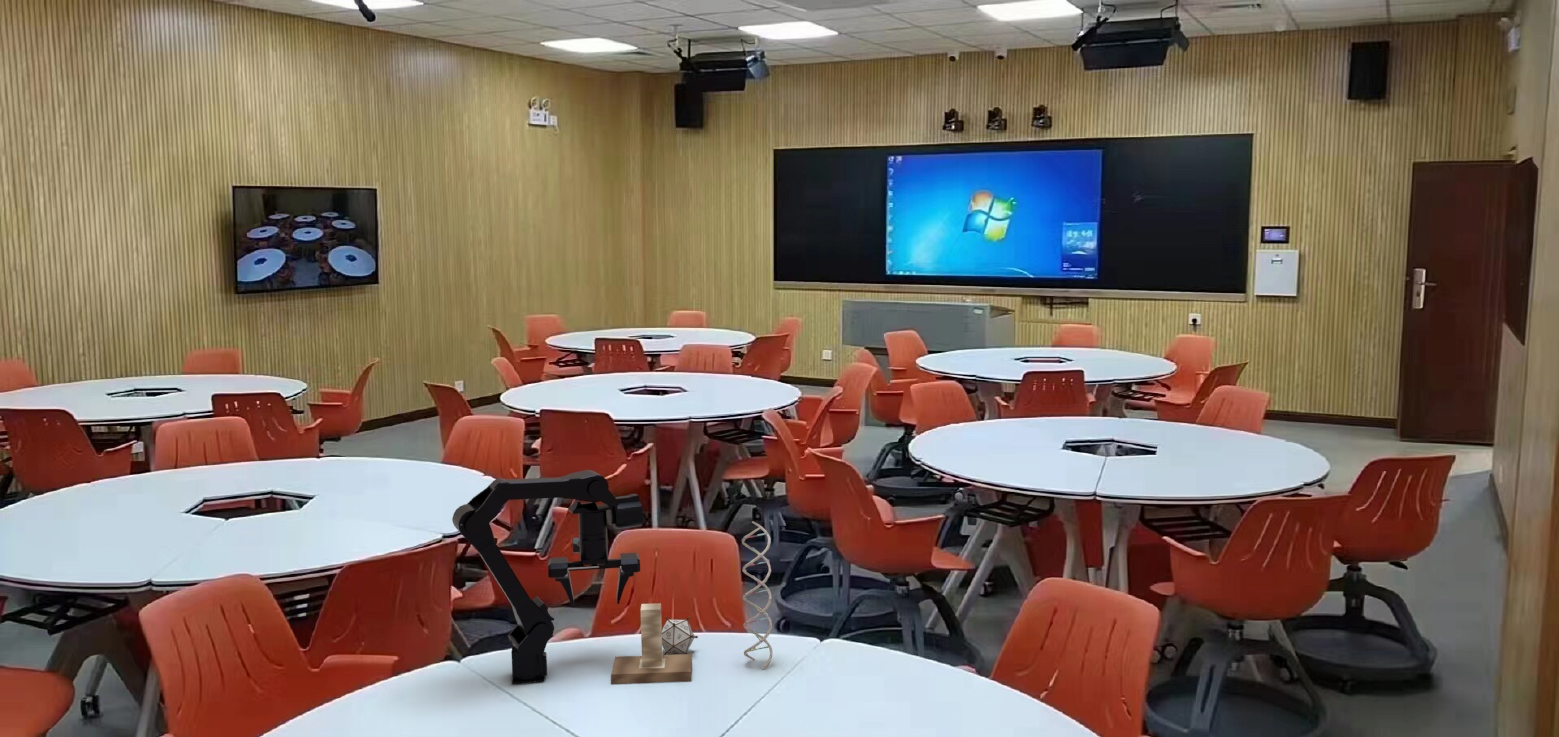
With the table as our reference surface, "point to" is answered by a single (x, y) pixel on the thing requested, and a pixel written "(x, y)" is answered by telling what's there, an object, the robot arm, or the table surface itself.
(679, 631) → the game die
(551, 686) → the table surface
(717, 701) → the table surface
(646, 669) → the walnut slab
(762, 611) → the dna model
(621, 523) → the robot arm
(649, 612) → the maple pillar
